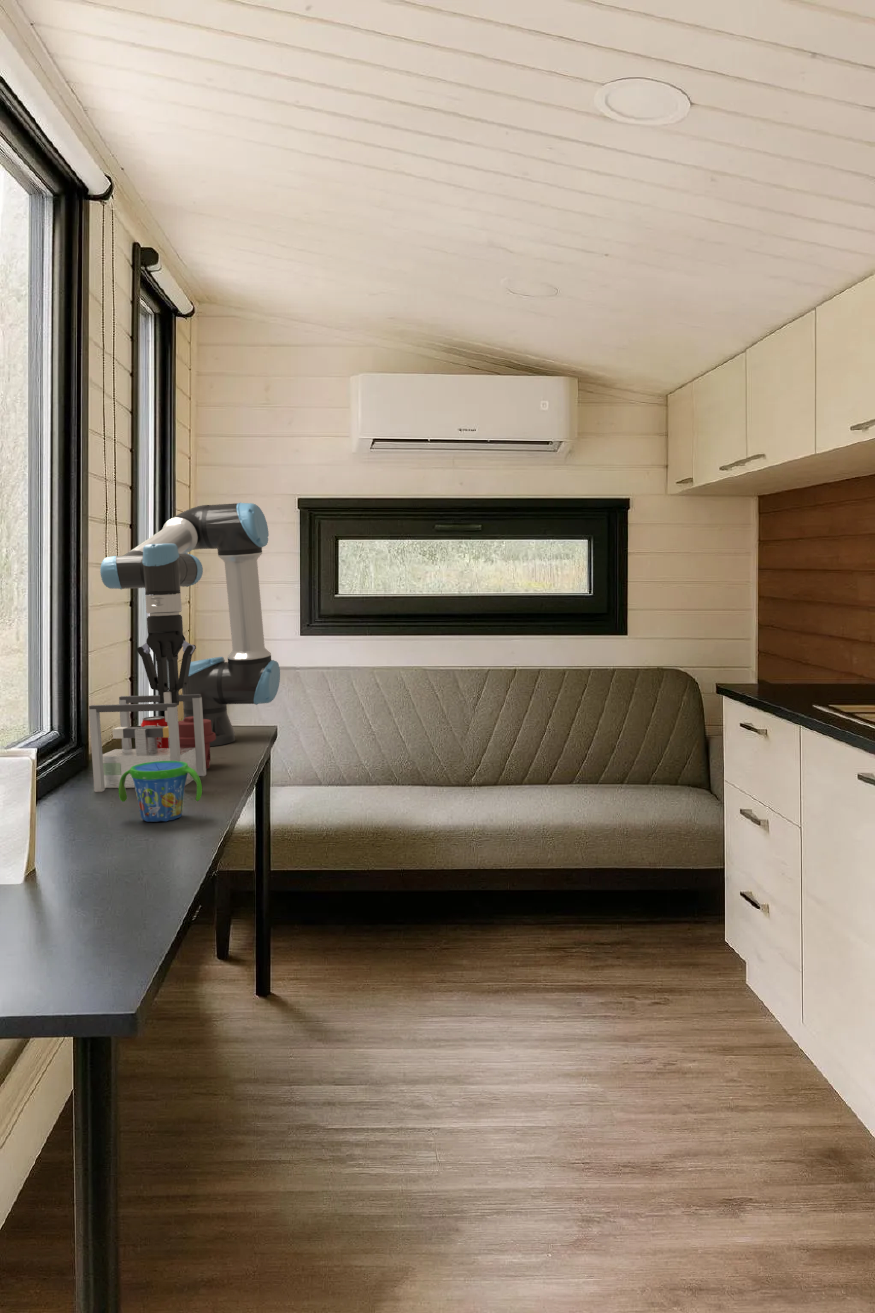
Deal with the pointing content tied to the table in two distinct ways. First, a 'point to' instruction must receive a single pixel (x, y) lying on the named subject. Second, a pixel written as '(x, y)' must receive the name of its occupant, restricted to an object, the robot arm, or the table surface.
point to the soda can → (158, 722)
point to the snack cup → (160, 788)
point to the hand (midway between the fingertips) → (170, 720)
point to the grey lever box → (140, 759)
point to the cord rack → (125, 722)
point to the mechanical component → (189, 736)
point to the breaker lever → (130, 731)
